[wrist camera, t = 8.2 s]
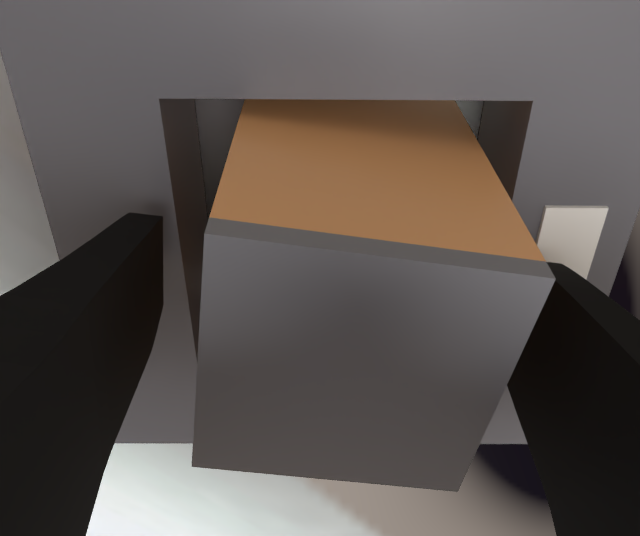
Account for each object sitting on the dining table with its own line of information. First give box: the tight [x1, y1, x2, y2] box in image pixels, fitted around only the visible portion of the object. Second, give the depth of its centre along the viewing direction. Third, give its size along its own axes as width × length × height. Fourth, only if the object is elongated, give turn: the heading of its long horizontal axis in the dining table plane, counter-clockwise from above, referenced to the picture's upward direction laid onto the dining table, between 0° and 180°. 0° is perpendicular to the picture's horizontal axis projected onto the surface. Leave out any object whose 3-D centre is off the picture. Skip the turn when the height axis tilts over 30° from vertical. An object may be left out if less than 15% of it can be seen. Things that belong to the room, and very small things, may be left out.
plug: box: [192, 99, 556, 492], centre depth 12 cm, size 4×4×7 cm
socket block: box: [0, 0, 640, 444], centre depth 13 cm, size 12×12×3 cm
